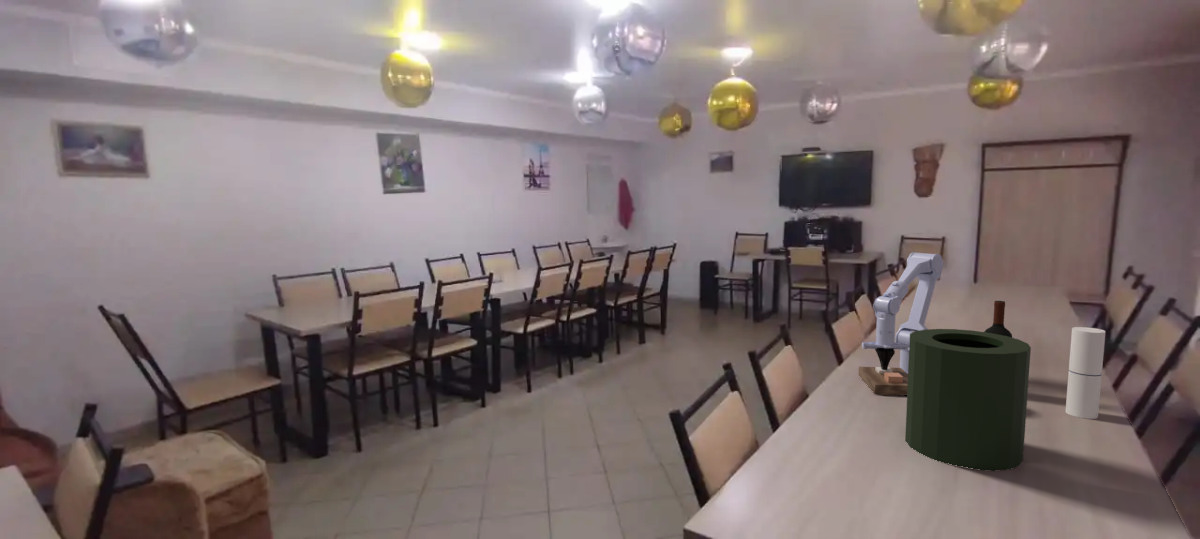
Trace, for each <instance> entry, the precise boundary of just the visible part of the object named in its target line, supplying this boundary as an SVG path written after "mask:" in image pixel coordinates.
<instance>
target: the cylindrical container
mask: <svg viewBox="0 0 1200 539" xmlns="http://www.w3.org/2000/svg"><path fill="white" fill-rule="evenodd" d="M1070 338H1071V339H1070V349H1069V363H1068V375H1067V376H1068V377H1067V388H1066V403H1065V413H1066V414H1068V415H1070V416H1072V417H1075V418H1079V417H1080V419H1085V418H1086V419H1087V420H1096V419H1098V418H1099V409H1100V400H1101V390H1102V389H1101V385H1102V374H1103V365H1104V364H1103V362H1104V354H1105V344H1106V343H1105V341H1106V330H1104V329H1101V328H1096V327H1085V326H1075V327H1074V326H1073V327H1071V337H1070Z"/></svg>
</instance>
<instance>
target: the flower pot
mask: <svg viewBox="0 0 1200 539" xmlns="http://www.w3.org/2000/svg"><path fill="white" fill-rule="evenodd" d="M1031 350H1032V347H1031V346H1030V344H1029V343H1027V342H1025V341H1024V340H1021V339H1018V338H1015V337H1012V338H1011V337H1008V336H1003V335H998V334H993V333H987V332H984V331H980V330H979V331H978V330H971V329H970V330H967V329H958V328H957V329H956V328H932V329H931V328H930V329H928V328H927V330H920V331H913V333H911V334H910V343H909V366H908V389H907V396H906V412H905V414H906V415H905V434H904V435H905V440H904V441H905V442H907V443H908V444H907V443H906V444H907V445H908V446H909V448H910V449H912V448H913V449H912V450H914V451H915V450H916V451H915V452H917V453H918V452H919V453H918V454H920V453H921V454H923V455H922V456H924V455H925V456H924V457H926V456H927V457H926V458H928V457H929V458H928V459H931V460H933V459H934V460H933V461H935V460H937V461H936V462H939V461H941V462H940V463H942V462H944V463H943V464H945V463H949V464H952V465H957V466H963V467H968V468H973V469H980V470H979V471H985V470H991V471H990V472H996V471H995V470H1000V471H1008V470H1007V469H1010V470H1012V469H1011V468H1013V469H1015V468H1017V466H1018V467H1020V466H1019V465H1021V464H1022V463H1023V461H1024V451H1025V436H1026V435H1025V433H1026V421H1027V409H1028V408H1027V405H1028V394H1029V377H1030V365H1031V362H1030V361H1031ZM921 454H920V455H921ZM949 464H948V465H949ZM952 465H951V466H952ZM973 469H972V470H973Z"/></svg>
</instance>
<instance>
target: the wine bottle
mask: <svg viewBox="0 0 1200 539" xmlns="http://www.w3.org/2000/svg"><path fill="white" fill-rule="evenodd" d="M993 306H994V308H993V319H992V320H993V322H992V325H991V326H990V327H988V328H986V329H985V330H984V331H983V332H987V333H993V334H998V335H1003V336H1008V337H1011V338H1013V334H1012V333H1011V331H1010V330H1009V329H1007V327H1005V324H1004V323H1005V308H1006V301H1005V300H994V304H993Z"/></svg>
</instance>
